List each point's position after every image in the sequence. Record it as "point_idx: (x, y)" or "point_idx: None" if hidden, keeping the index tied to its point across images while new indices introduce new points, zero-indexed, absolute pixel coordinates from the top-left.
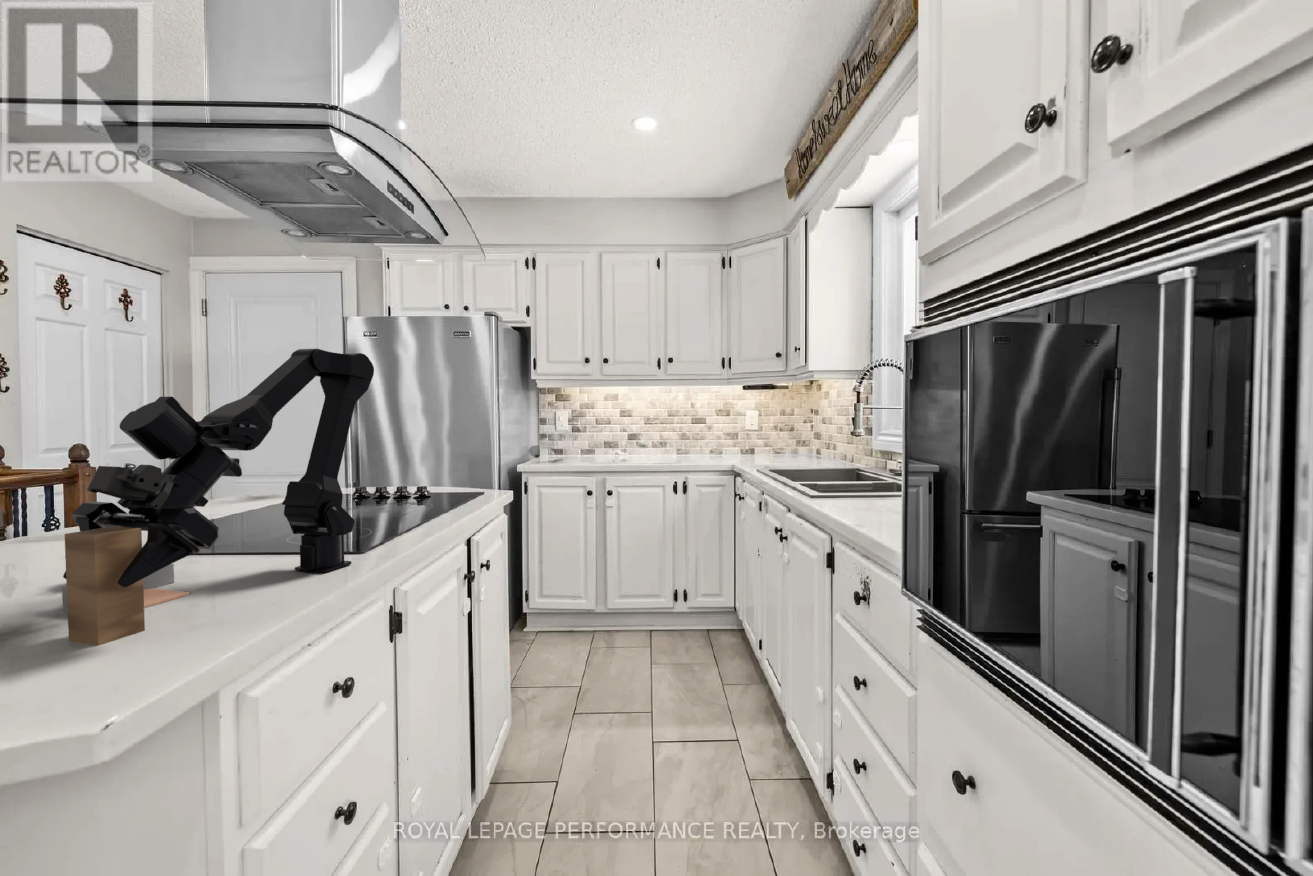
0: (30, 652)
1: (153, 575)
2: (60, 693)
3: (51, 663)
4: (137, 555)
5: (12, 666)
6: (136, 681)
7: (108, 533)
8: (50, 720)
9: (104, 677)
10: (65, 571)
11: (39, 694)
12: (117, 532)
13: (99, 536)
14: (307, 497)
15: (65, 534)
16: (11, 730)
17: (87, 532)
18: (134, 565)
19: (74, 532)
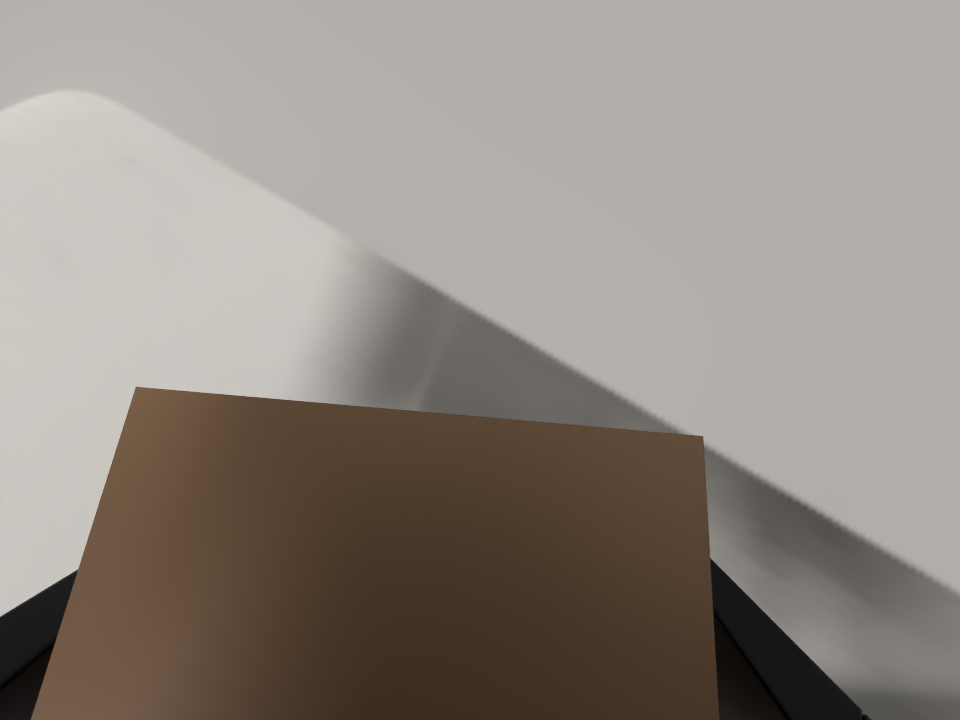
0: (539, 394)
1: None
2: (173, 223)
3: (384, 345)
4: (22, 643)
5: (469, 311)
6: (37, 300)
7: (119, 600)
8: (76, 139)
9: (145, 304)
10: (710, 561)
11: (218, 211)
12: (40, 705)
13: (128, 449)
14: None
15: (686, 438)
16: (117, 104)
17: (512, 592)
18: (71, 573)
19: (702, 552)
